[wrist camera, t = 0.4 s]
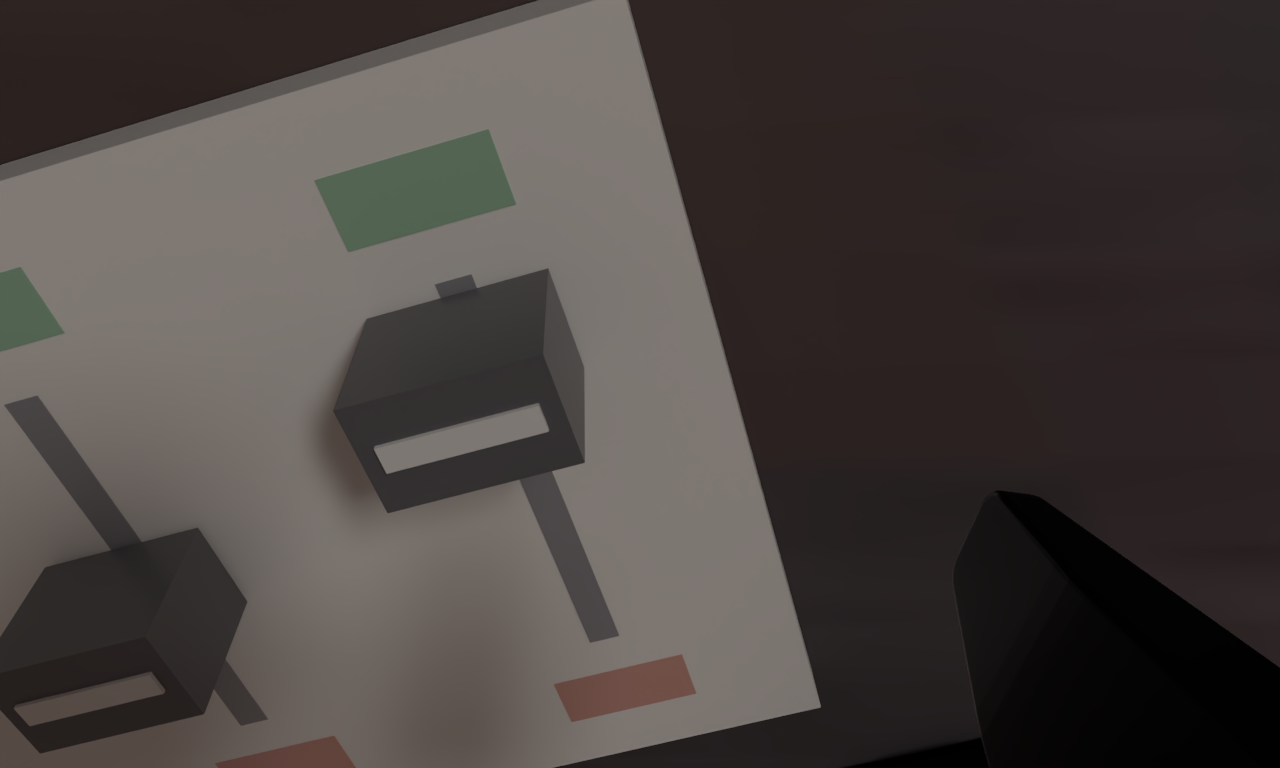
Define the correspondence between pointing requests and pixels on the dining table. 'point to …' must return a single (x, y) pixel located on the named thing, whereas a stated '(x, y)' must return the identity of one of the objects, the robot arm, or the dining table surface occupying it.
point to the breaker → (465, 393)
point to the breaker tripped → (119, 641)
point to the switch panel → (318, 447)
